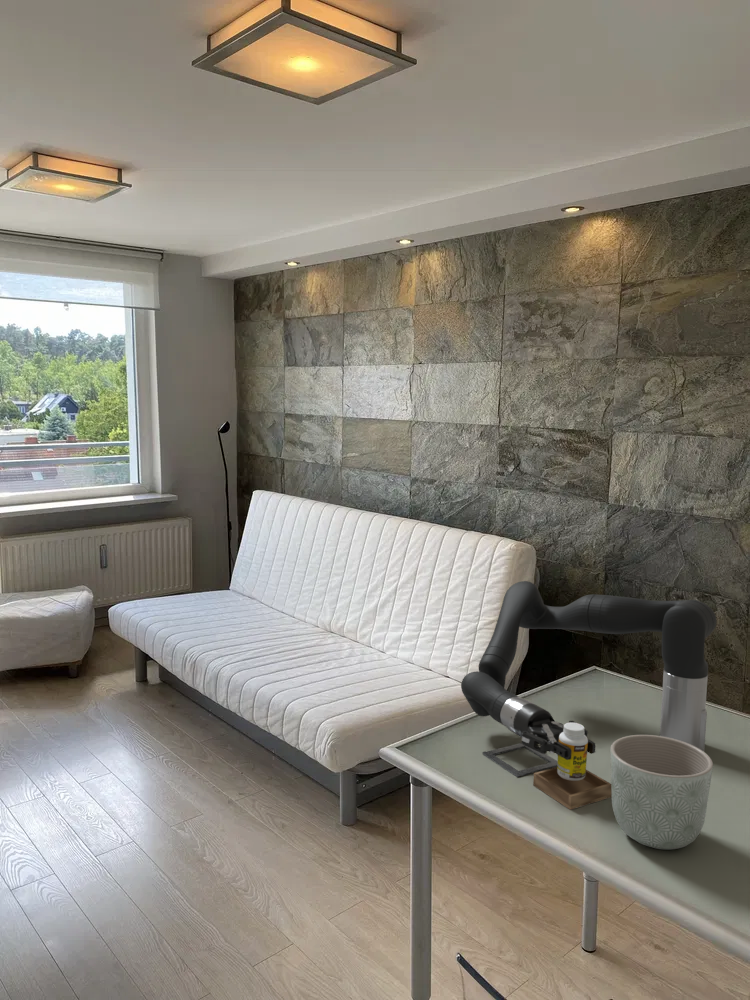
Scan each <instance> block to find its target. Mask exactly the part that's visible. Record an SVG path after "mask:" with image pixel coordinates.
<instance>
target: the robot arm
mask: <svg viewBox="0 0 750 1000" xmlns="http://www.w3.org/2000/svg"><path fill="white" fill-rule="evenodd" d="M716 627H717V616H716V614H715V612H714V610H713V609H712V608H711V607H710V606H709V605H708V604H706V602H702V601H699V600H697V599H679V600H653V599H652V600H649V599H643V598H637V597H636V598H635V597H629V596H628V597H627V596H618V595H617V596H616V595H608V594H596V593H595V594H593V593H592V594H586V595H584V596H581V597H579V598H578V599H576V600H574V601H573V602H570V603H569V604H567V605H565V606H553V605H552V606H550V605H547V604H544V601H543V598H542V596H541V592H540V591H539V588H537V585H536V584H534V583H533V582H531V581H528V580H527V581H526V580H523V581H518V582H515V583H513V584H512V585H510V587H508V589H507V590H506V592H505V594H504V597H503V600H502V604H501V607H500V611H499V614H498V618H497V620H496V625H495V627H494V630H493V633H492V636H491V638H490V641H489V643H488V644H487V647H486V649H485V650H484V651H483V652H484V653H483V655H482V657H481V658H480V660H479V663H478V671H471V672H468V673H467V674H466V675H465V676H464V677H463V678H462V680H461V683H460V684H461V685H460V688H461V692H462V694H463V696H464V698H465V699H466V701H467V703H468V704H469V706H470V707H471V709H472V710H473V712H474V713H475V714H476V715H478V716H480V717H488V716H490V717H491V718H492V719H493V720H495V722H497V723H499V724H500V725H503V726H504V727H505V728H507V729H508V730H509V731H511V733H513V734H515V735H516V736H518V737H520V738H521V743H522V744H523V745H525V746H527V747H529V748H531V749H533V750H536V751H538V752H540V753H542V754H546V755H547V753H548V752H549V754H556V755H557V756H558V755H559V756H561V757H563V758H565V759H566V760H569V759H571V752H572V751H571V749H570V748H569V747H567V746H565V745H564V744H562V743H560V742H559V735H560V734H561V733H562V732H563V729H564V724H563V723H562V722H558V721H555V720H554V717H553V715H552V714H551V713H550V712H549V711H548V710H546V709H544V708H542V707H541V706H539V705H538V704H535V703H533V702H531V701H529V700H528V699H526V698H522V697H520V696H518V695H516V694H514V693H513V692H510V691H508V690H507V689H505V685H506V679H507V674H508V672H509V670H510V668H511V667H512V664H513V661H514V660H515V657H516V653H517V650H518V649H517V647H518V639H519V631H520V628H522V629H532V630H540V629H541V630H548V629H549V630H555V629H557V630H571V631H582V632H591V633H598V634H599V633H601V634H606V635H607V634H609V635H624V634H634V633H636V634H637V633H644V632H645V633H647V632H657V633H659V632H660V633H661V657H662V658H661V659H662V661H663V674H662V676H663V677H662V694H661V695H662V696H661V697H662V698H661V709H660V726H659V727H660V728H659V736H663V737H668V738H673V739H676V740H680V741H683V742H686V743H688V744H691V745H693V746H695V747H697V748H699V749H700V750H702V751H704V752H705V749H706V748H705V747H706V731H707V717H708V711H707V709H706V706H707V705H706V704H707V689H708V688H707V687H708V675H709V664H708V663H709V662H707V660H706V659H705V640H706V639H707V638H708V637H710V635H711V634H712V633H713V632H714V630H715V629H716ZM568 723H577V722H576V721H575V720H569V721H568ZM584 732H585V733H584V735H585V736H586V737H587V739H588V747H587V753H589V754H590V755H591V754H595V753H596V743H595V742H594V741H593V740H591V739H589V738H588V733H589V732H588V730H587V729H585V728H584ZM539 745H540V746H539Z"/></svg>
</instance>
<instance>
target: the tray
mask: <svg viewBox="0 0 750 1000" xmlns="http://www.w3.org/2000/svg"><path fill="white" fill-rule="evenodd" d="M532 779H533V781H532V782H533V783H532V785H533V787H535V788H536V789H538V790H539V791H541V792H542V793H544V794H546V795H547V796H548V797H550V798H551V799H553V800H555V801H556V802H558V803H559V804H561V805H562V806H564V807H566V808H567V809H568V810H574V809H577V808H581V807H585V806H586V805H590V804H594V803H597V802H600V801H604V800H606V799H610V798H612V791H611V782H609V781H607V780H605V779H604V778H602V777H600V776H598V775H597V774H595V773H593V772H591V771H589V770H588V769H586V775H585V777H584V778H583V779H582V780H579V781H571V780H566V779H564V778H562V777H560V776H559V775H558V773H557V767H554V768H550V769H546V770H543V771H539V772H535V773H533V778H532Z"/></svg>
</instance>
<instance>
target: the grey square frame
mask: <svg viewBox="0 0 750 1000" xmlns="http://www.w3.org/2000/svg"><path fill="white" fill-rule="evenodd" d="M520 749H526V750H527V751H529V752H531V753H532V754H534V755H536V756H538V757H539V758H541V759H543V760H544V761H546V763H543V764H540V765H537V766H532V767H531V766H530V767H529V768H524V769H519V770H518V769H517V768H514V767H513V766H512V765H510V764H508V763H507V762H505V761H504V760H502V759H501V758H499V756H496V755H499V754H504V753H508V752H511V751H512V752H513V751H516V750H520ZM482 755H483V756H484V757H486V758H488V759H489V760H490V761H492V762H493V763H495V764H497V765H498V766H499V767H501V768H502V769H504V770H506V771H507V772H508V773H511V774H512V775H513V776H515V777H516V778H519V777H520V778H521V777H524V776H527V775H530V774H534V773H536V772H540V771H544V770H547V769H551V768H555V767H557V763H558V759H555V758H553V757H551V756H550V755H548V754H547V753H546V754H542V753H540V752H538V751H536V750H533V749H531V748H529V747H527V746H525V745H523V744H522V742H520V743H516V744H511V745H508V746H504V747H500V748H495V749H490V750H487V751H483V752H482Z"/></svg>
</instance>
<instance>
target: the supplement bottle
mask: <svg viewBox="0 0 750 1000" xmlns="http://www.w3.org/2000/svg"><path fill="white" fill-rule="evenodd" d="M563 725H564V729H563V732H562V733H561V734H560V735H559V742H560V743H562V744H564V745H565V746H567V747H569V748H570V749H571V751H572V752H571V759H569V760H566V759H565V758H563V757H561V756H559V755H557V761H558V763H557V773H558V775H559V776H560V777H562V778H564V779H566V780H571V781H579V780H582V779H583V778H584V777H585V775H586V770H587V760H588V759H587V758H588V752H587V747H588V739H589V738H588V736H587V737H586V736H585V735H584V733H585V732H584V729H585V727H584V725H582V724H581V723H577V722H576V723H569V722H566V723H565V724H563Z"/></svg>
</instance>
